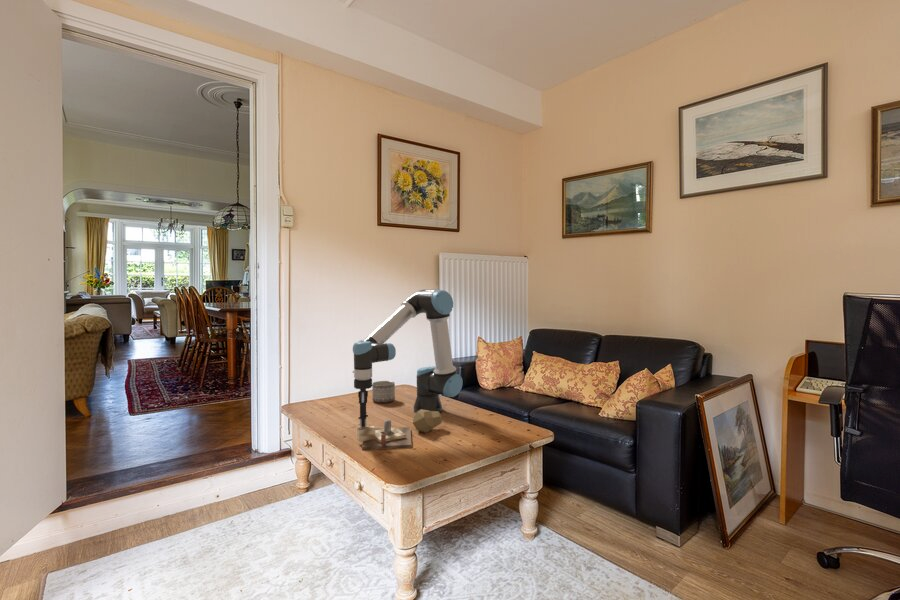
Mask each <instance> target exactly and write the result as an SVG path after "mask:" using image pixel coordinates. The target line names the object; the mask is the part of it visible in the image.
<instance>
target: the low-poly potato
mask: <svg viewBox="0 0 900 600" xmlns="http://www.w3.org/2000/svg"><path fill="white" fill-rule="evenodd" d="M442 423H443V415H442V414H441V412H440V413H439V411H428V410H423V409H421V410H419V411H417V413H414V415H413V418H412V425H413V426H414V428H415V429H416V430H417V431H418V432H421V433H426V434H428V432H430V431H431V430H433V429H435V428H436V427H438V426H439V425H441V424H442Z"/></svg>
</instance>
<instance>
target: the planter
mask: <svg viewBox="0 0 900 600" xmlns="http://www.w3.org/2000/svg"><path fill="white" fill-rule="evenodd" d="M395 386H396V385H395V381H392V380H379V381H378V380H377V381H374V382H372V387H371V388H372V390H371V391H372V392H371V393H372V395H371V396H372V399H371V400H372V401H373V402H376V403H379V402H382V403H381V404H384V403H383V402H386V403H390V402H393V401H395V398H396V396H395V394H396V392H395V391H396V390H395Z"/></svg>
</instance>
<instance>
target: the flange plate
mask: <svg viewBox="0 0 900 600" xmlns="http://www.w3.org/2000/svg"><path fill="white" fill-rule="evenodd" d="M397 428H398V427H396V426H393V427H392V426H391V435H386V441H391V440H396V439H401V438H406V434H404V433H403V432H402V431H400V430H399V429H397ZM375 429H376V427H375V426H374V425H370V426H366V427H364V428H363V427H360V426H359V427H357V441H358V442H359V443H361V442H362V443H363V441H368V440H373V439H376V440H377V441H378V442H379V443H380V442H381V434H384V429H380V430H375Z"/></svg>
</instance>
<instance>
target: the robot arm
mask: <svg viewBox="0 0 900 600" xmlns="http://www.w3.org/2000/svg"><path fill="white" fill-rule="evenodd" d="M453 308H454V299H453V297H452V295H451V294H450V293H449V292H448V291H446V290H442V289H421V290H418V291H416V292H414V293H413V294H411V295H410V296H408V297H407V298H406V299H404V301H402V302H401V303H400V307H399V308H398V309H397V310H396V311H395V312H393V313H392V314H391V315H389V317H388V318H386V320H385V321H384V322H382V323H381V324H380V325H379V326H378V327H377V328H375V330H373V331H372V332H371V333H370V334H368V336H367V337H365V338H364V339H362V340H361V339H360V340H357V341H355V342H354V344H353V346H352V353H353V370H352V373H353V378H354V380H353V388H354V389H356V390H358V395H357V397H358V404H359V417H358V420H359V427H363V428H364V427H367V418H368V417H369V415H368V414H367V413H368V412H367V403H368V397H369V396H368V395H369V391H368V390H367V389H370V388H372V383H373V364H375V363H379V362H381V363H382V362H388V361H391V360H394V359H395V358H396V354H397V350H396V347H395V345H394V344H393V343H387V341H388V340H389V339H390V338H392V336H394V334H395V333H397V332H398V331H399V330H400V329H401V328H402V327H403V326H404V325H405V324H406V323H408V322H409V320H411V319H412V318H415V317H416V316H418V315H420V314H425V317H426V320H427V321H429V324H430V331H431V340H432V346H433V347H432V349H433V356H434V362H435V366H426V367H420V368H418V369H417V371H416V376H415V377H416V398H415V401H414V405H413V412H414V414H416V413H417V411H419V410H421V409H423V410H428V411H439V413H440V414H441V413H442V411H443V405H442V404H443V403H442V402H441V398H440V396H444V397H447V398H448V397H450V398H453V397H456V396H457V395H459V393H460V391H462V388H463V378H462V376H461V375H460V374H458V372H457V367H456V366H454V365H453V355H452V348H451V347H452V346H451V339H450V333H449V324H448V323H449V322H448V319H449V318H450V317H451V315H450V313H451V312H452V311H453Z"/></svg>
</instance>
